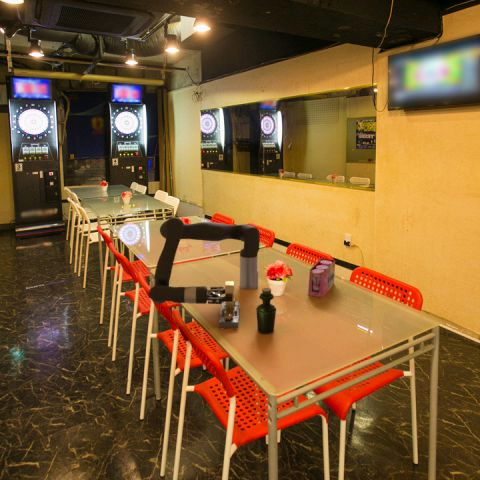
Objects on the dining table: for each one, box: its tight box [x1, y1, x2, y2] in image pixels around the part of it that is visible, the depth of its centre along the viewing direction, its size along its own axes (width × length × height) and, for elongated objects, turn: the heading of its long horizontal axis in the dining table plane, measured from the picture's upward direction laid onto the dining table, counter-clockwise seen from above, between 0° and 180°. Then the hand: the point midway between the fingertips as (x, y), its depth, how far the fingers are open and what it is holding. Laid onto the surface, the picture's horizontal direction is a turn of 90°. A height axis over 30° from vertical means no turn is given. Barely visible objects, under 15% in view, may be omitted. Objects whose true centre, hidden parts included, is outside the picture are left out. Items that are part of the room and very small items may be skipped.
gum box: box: [307, 258, 336, 298], centre depth 216 cm, size 24×8×14 cm, turn 153°
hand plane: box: [218, 297, 240, 329], centre depth 184 cm, size 22×8×5 cm, turn 179°
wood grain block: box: [224, 280, 235, 314], centre depth 182 cm, size 5×4×13 cm
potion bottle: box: [255, 287, 277, 335], centre depth 170 cm, size 8×8×18 cm
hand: (232, 295), depth 182 cm, fingers open, 8 cm apart
